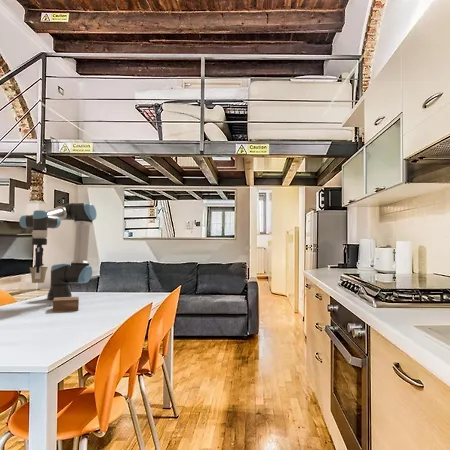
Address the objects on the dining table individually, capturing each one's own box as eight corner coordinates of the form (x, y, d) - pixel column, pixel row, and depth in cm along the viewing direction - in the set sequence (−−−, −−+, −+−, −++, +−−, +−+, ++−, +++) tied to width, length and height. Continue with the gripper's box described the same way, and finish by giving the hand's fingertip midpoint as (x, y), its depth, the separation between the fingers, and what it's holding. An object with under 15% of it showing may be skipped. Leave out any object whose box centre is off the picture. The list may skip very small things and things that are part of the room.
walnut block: (53, 308, 227) (54, 297, 228) (78, 307, 232) (78, 296, 232) (52, 311, 215) (53, 300, 216) (78, 310, 220) (78, 299, 220)
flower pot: (50, 282, 227) (51, 266, 227) (41, 283, 217) (42, 267, 218) (35, 281, 228) (35, 266, 228) (25, 283, 218) (25, 267, 219)
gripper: (34, 238, 233) (33, 276, 232) (30, 237, 212) (28, 279, 211) (48, 238, 235) (47, 276, 234) (45, 237, 215) (44, 279, 213)
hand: (38, 278), depth 223 cm, fingers closed on flower pot, 9 cm apart
